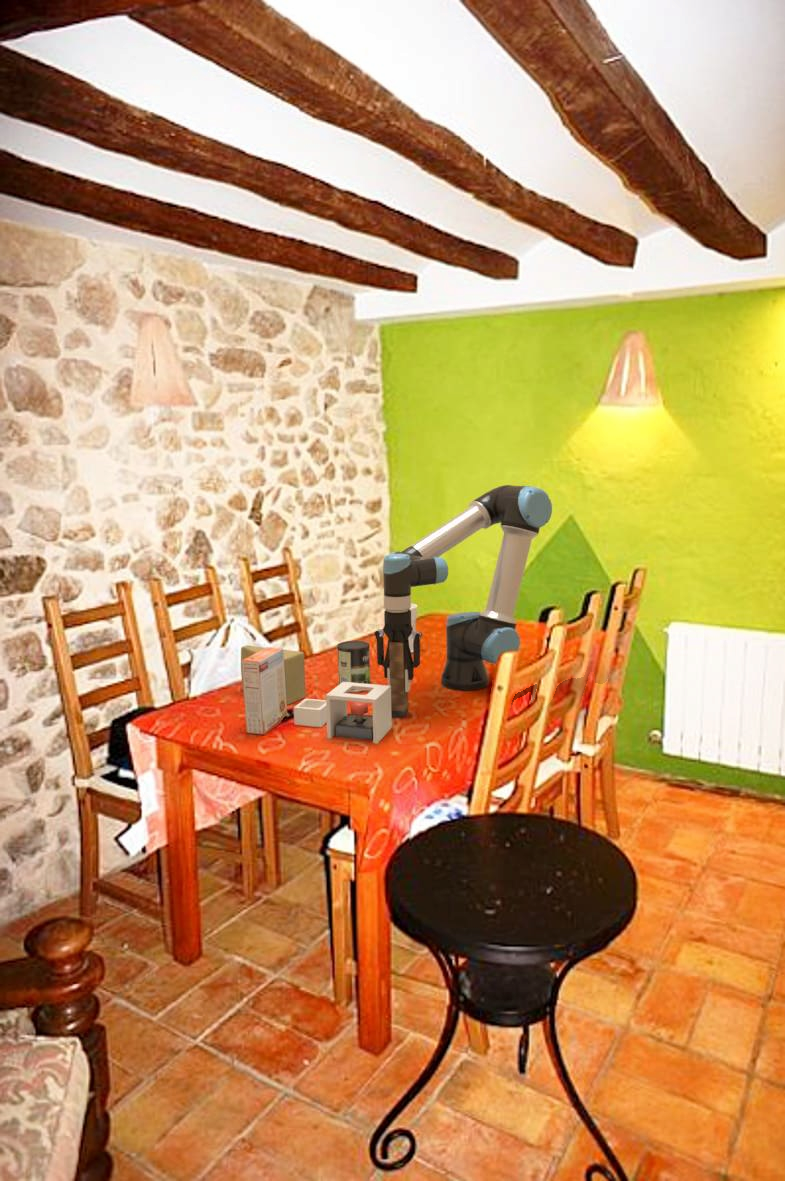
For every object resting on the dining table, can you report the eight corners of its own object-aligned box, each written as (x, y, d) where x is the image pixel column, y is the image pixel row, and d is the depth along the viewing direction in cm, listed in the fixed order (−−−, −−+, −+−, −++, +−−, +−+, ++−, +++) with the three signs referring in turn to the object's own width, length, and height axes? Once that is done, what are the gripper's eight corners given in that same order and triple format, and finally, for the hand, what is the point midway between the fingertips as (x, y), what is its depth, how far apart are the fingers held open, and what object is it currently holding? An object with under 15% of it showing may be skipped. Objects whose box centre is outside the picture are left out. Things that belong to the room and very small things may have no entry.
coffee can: (373, 683, 260) (372, 640, 258) (366, 693, 250) (365, 649, 248) (343, 681, 262) (341, 639, 260) (334, 691, 253) (333, 648, 250)
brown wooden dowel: (408, 713, 231) (407, 639, 227) (404, 718, 227) (402, 643, 223) (395, 712, 232) (393, 638, 228) (390, 717, 229) (389, 642, 225)
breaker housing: (383, 728, 220) (382, 716, 219) (371, 740, 211) (371, 728, 211) (349, 725, 223) (348, 713, 222) (336, 737, 214) (336, 724, 214)
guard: (391, 727, 220) (390, 685, 218) (377, 743, 209) (375, 699, 207) (344, 722, 225) (343, 681, 222) (327, 738, 214) (325, 695, 211)
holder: (332, 717, 229) (331, 700, 228) (320, 727, 222) (320, 710, 221) (306, 715, 232) (305, 698, 231) (294, 724, 224) (293, 707, 223)
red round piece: (370, 721, 218) (370, 700, 217) (364, 727, 214) (364, 706, 213) (354, 720, 219) (354, 699, 218) (348, 725, 215) (348, 704, 214)
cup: (423, 650, 298) (423, 604, 295) (407, 657, 289) (407, 610, 286) (397, 646, 304) (397, 601, 301) (381, 653, 295) (380, 607, 292)
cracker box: (269, 716, 231) (265, 646, 227) (288, 718, 229) (284, 647, 225) (244, 733, 218) (240, 659, 214) (264, 736, 216) (260, 661, 212)
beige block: (232, 694, 252) (229, 648, 249) (253, 686, 260) (251, 641, 257) (286, 706, 240) (284, 657, 237) (307, 697, 248) (305, 650, 245)
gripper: (431, 608, 225) (432, 688, 229) (372, 605, 230) (374, 683, 235) (424, 614, 218) (425, 696, 222) (363, 610, 223) (365, 691, 228)
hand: (399, 689), depth 228 cm, fingers open, 4 cm apart
